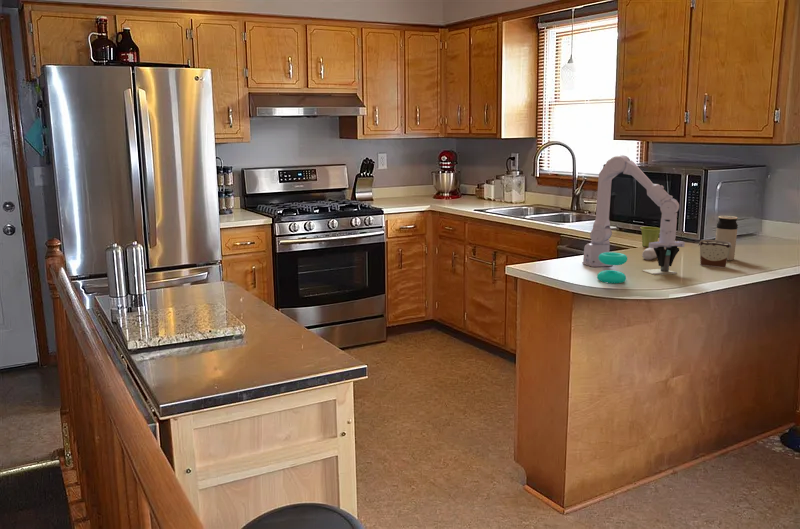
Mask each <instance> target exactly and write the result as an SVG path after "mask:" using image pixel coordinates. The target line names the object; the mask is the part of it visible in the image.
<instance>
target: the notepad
mask: <svg viewBox="0 0 800 529" xmlns="http://www.w3.org/2000/svg"><path fill="white" fill-rule="evenodd" d="M660 270H661V268H655V269H653V268H652V269H642V270H641V272H643V273H644V272H645V273H647V274H650V275H654V276H662V275H663V276H664V275H666V276H667V275H678V272H677V271H674V270H670V269H669V272H663V271H660Z"/></svg>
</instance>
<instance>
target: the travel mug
mask: <svg viewBox="0 0 800 529" xmlns="http://www.w3.org/2000/svg"><path fill="white" fill-rule="evenodd" d="M737 220H738V216H734V215H733V216H732V215H719V216H718V222H717V223H716V230H715V239H714V240H720V241H727V242H730V243H731V247H732V249H731V248H730V250H729V254H728V259H727V261H733V260H735V255H736V254H735V253H736V247H737V246H736V245H737V244H736V243H737V236H738V235H737V234H738V222H737Z"/></svg>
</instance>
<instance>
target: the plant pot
mask: <svg viewBox="0 0 800 529" xmlns="http://www.w3.org/2000/svg"><path fill="white" fill-rule="evenodd" d="M639 228H640V231H641V240H642V242H641V243H642V244H641V245H642V247H646V248H649V243H651V242H659V237H660V227H657V226H641V227H639Z"/></svg>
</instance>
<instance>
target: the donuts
mask: <svg viewBox="0 0 800 529" xmlns="http://www.w3.org/2000/svg"><path fill="white" fill-rule="evenodd" d="M598 258H599V260H600V262H602V263H604V264H607V265H613V266H621V265H624V264H626V263H627V262H628V256H627V255H626V254H625V253H621V252H614V251H609V252H605V253H601V254H600V255H599V257H598ZM596 278H597V280H598V281H599V280H600V281H599V282H601V281H602V283H605V282H608V283H607V284H621V283H624V282H625V281H626V279H627V276H626V275H625V273H623V272H622V271H619V270H613V269H612V270H611V269H606V270H605V269H604V270H601V271H599V272H598V273H597V275H596Z"/></svg>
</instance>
